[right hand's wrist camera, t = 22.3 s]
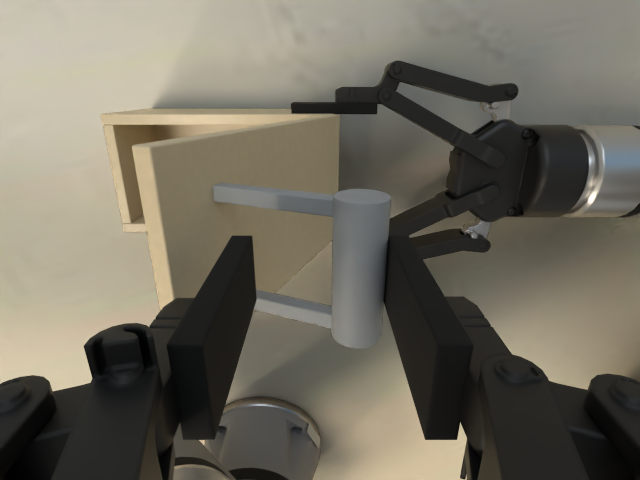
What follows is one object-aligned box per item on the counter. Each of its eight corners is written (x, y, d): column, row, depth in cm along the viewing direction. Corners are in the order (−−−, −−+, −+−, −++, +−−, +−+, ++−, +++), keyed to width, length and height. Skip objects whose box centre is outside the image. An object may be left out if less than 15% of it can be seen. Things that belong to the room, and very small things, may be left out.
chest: (163, 203, 40) (123, 232, 32) (149, 108, 37) (100, 114, 28) (330, 203, 40) (332, 232, 32) (331, 108, 37) (334, 114, 28)
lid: (170, 371, 16) (353, 434, 13) (130, 145, 13) (365, 161, 10) (328, 233, 32) (429, 248, 29) (329, 114, 28) (444, 117, 25)
